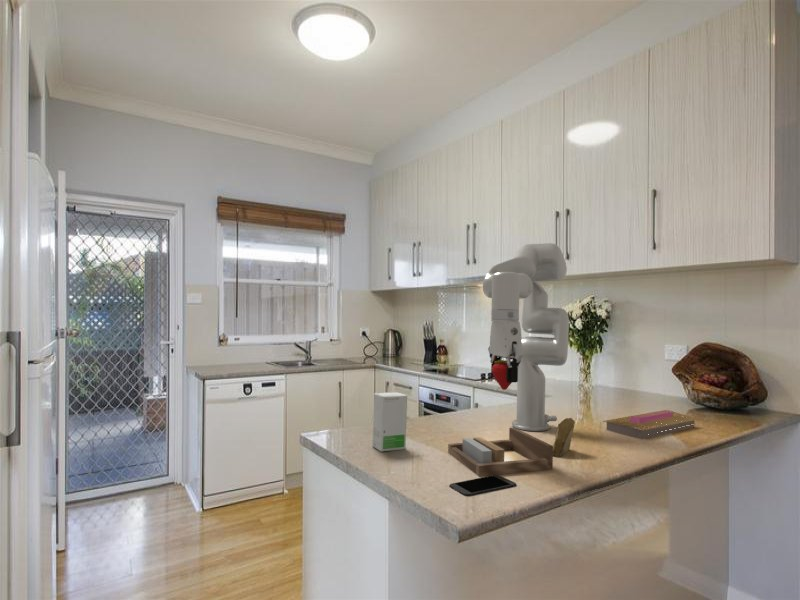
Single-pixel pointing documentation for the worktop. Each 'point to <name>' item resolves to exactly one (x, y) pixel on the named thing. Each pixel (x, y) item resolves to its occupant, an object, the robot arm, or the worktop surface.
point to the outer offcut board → (476, 451)
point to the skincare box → (389, 421)
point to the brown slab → (650, 424)
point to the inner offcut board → (492, 449)
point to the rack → (518, 442)
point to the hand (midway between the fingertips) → (504, 379)
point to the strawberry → (500, 373)
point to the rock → (563, 437)
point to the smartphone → (482, 485)
